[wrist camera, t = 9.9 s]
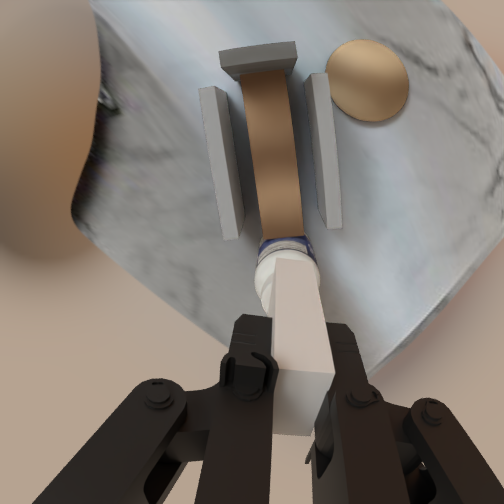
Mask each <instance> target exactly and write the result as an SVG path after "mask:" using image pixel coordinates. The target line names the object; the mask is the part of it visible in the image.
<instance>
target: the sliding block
mask: <svg viewBox="0 0 504 504" xmlns="http://www.w3.org/2000/svg"><path fill="white" fill-rule="evenodd" d="M219 58H220V64H221V68H222V69H223V70H224V71H225V72H226V73H227V74H228V75H229V76H230V77H231V78H232V79H234V80H235V81H241V87H242V94H243V100H244V107H245V114H246V120H247V127H248V134H249V141H250V147H251V154H252V161H253V168H254V175H255V182H256V189H257V196H258V203H259V210H260V218H261V225H262V232H263V239H264V240H266V239H276V238H285V237H295V236H304V227H303V217H302V206H301V196H300V187H299V177H298V168H297V160H296V151H295V143H294V135H293V128H292V120H291V113H290V105H289V98H288V91H287V85H286V78H285V75H290V74H292V71H293V69H294V66H295V63H296V61H297V58H298V57H297V51H296V45H295V41H292V42H281V43H271V44H263V45H255V46H248V47H241V48H235V49H229V50H223V51H219Z"/></svg>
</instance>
